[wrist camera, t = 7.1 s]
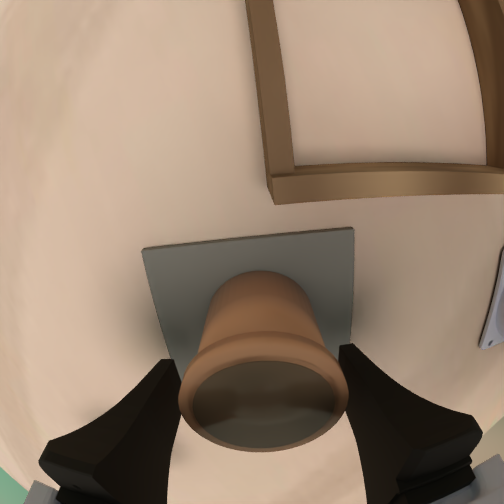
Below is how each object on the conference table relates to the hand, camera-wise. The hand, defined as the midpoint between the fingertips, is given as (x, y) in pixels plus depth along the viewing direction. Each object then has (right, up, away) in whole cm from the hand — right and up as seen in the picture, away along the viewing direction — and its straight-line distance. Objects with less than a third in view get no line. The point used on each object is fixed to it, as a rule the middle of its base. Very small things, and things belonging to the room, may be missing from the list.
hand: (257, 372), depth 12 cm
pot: (0, +2, +2) cm, 3 cm away
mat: (0, +1, +3) cm, 3 cm away
